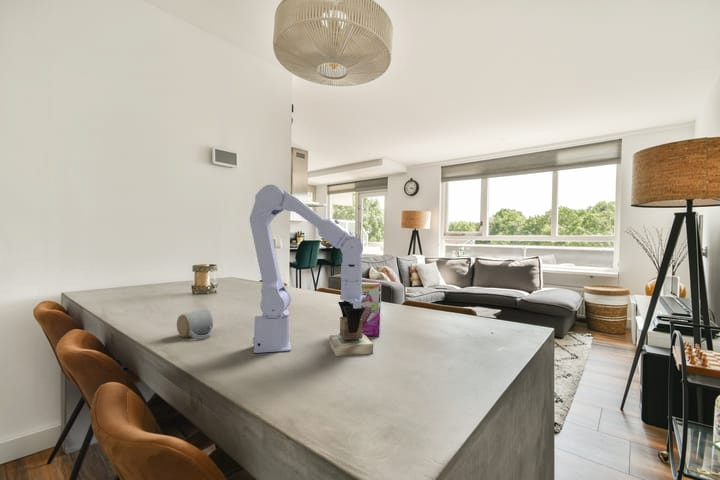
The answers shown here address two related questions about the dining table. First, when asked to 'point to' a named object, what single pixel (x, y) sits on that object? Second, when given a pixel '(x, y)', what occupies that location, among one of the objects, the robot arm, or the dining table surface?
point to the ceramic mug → (195, 324)
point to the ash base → (350, 345)
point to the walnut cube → (345, 331)
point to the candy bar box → (371, 309)
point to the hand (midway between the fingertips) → (350, 329)
